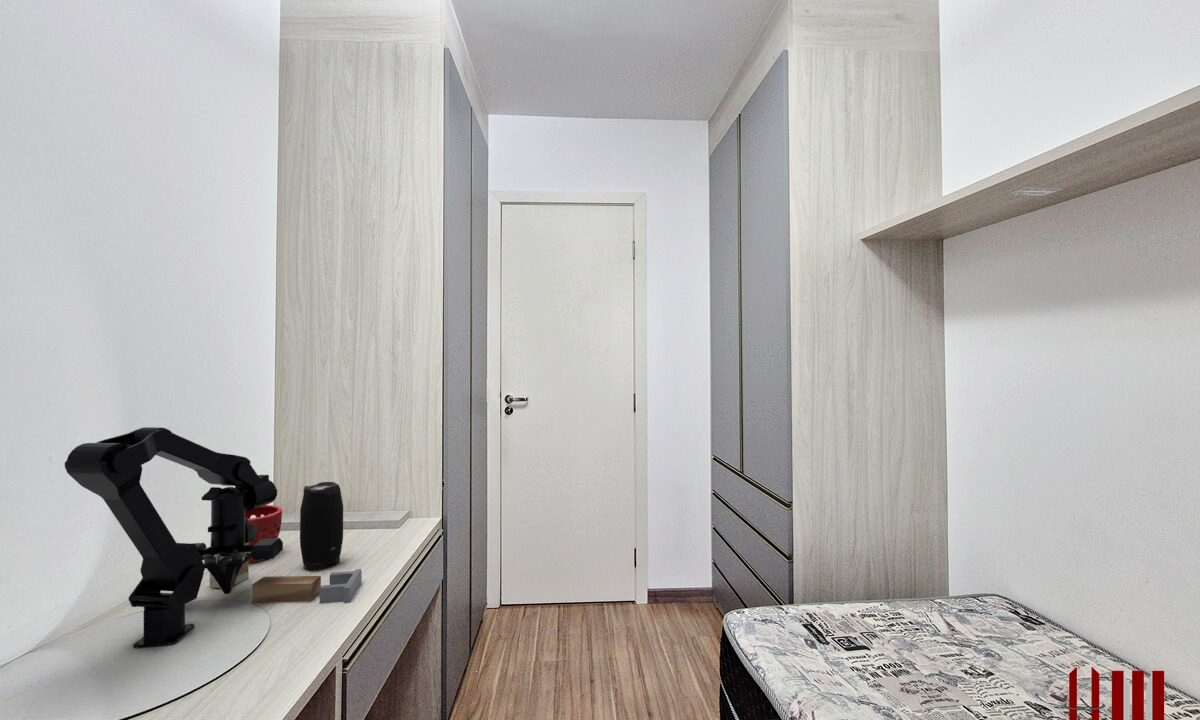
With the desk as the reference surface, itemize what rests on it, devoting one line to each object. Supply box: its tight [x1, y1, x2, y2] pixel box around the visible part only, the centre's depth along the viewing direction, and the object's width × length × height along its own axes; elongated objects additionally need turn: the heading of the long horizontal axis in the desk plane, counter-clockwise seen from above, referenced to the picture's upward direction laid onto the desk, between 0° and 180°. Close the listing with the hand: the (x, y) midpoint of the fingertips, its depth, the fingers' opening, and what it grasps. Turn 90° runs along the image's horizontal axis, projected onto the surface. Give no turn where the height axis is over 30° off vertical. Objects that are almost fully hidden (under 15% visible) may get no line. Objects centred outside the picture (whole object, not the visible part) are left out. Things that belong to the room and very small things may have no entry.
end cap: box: [319, 568, 363, 604], centre depth 112 cm, size 10×6×3 cm, turn 12°
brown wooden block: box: [251, 575, 322, 604], centre depth 110 cm, size 4×12×4 cm, turn 92°
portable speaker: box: [299, 481, 344, 572], centre depth 128 cm, size 9×9×20 cm
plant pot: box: [245, 504, 283, 564], centre depth 133 cm, size 13×13×12 cm
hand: (228, 593), depth 108 cm, fingers closed
